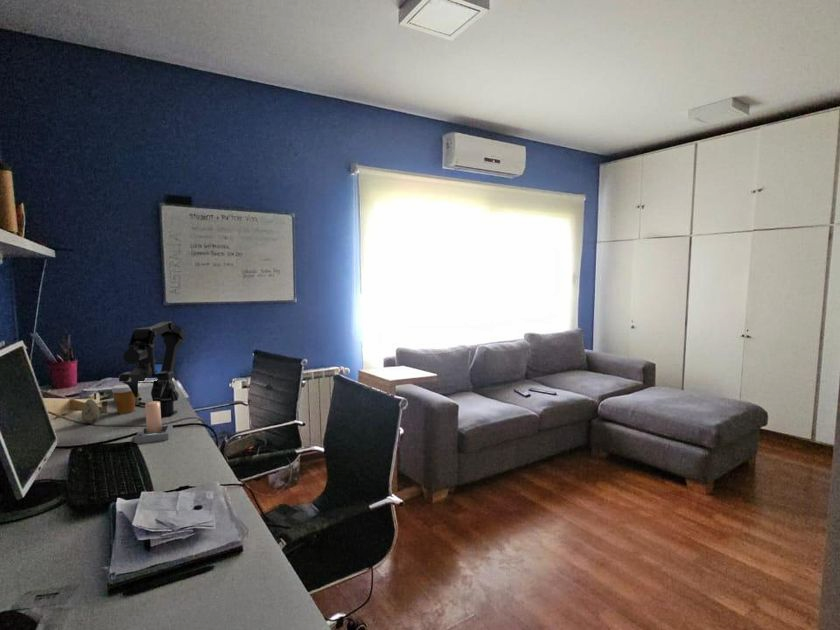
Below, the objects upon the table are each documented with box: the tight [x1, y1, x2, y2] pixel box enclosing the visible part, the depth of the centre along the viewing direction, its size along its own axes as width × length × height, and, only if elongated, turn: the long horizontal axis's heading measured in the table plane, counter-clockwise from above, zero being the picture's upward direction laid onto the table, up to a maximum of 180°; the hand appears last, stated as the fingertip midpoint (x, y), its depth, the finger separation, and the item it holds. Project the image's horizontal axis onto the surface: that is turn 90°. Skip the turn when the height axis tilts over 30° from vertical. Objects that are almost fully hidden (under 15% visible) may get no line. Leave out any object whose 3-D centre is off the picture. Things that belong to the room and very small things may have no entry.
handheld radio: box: [112, 390, 147, 407], centre depth 202 cm, size 7×3×25 cm
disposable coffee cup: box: [111, 383, 136, 415], centre depth 189 cm, size 10×10×12 cm
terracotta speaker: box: [144, 400, 163, 434], centre depth 160 cm, size 5×5×12 cm
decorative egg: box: [81, 399, 101, 424], centre depth 175 cm, size 6×6×10 cm
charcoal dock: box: [134, 423, 174, 444], centre depth 160 cm, size 11×11×3 cm
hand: (148, 396), depth 171 cm, fingers open, 9 cm apart
